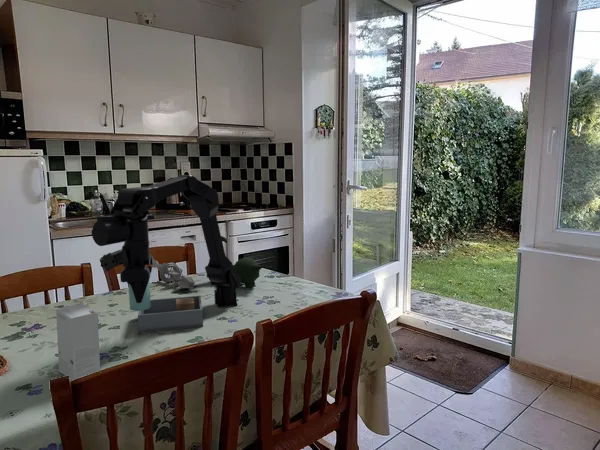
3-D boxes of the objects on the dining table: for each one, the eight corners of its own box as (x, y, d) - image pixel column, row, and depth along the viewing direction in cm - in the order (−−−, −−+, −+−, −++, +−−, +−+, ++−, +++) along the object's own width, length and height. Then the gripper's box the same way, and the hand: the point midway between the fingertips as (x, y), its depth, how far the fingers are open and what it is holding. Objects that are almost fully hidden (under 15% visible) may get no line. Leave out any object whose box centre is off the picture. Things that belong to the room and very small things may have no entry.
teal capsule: (151, 303, 113) (150, 277, 112) (150, 309, 108) (148, 282, 107) (131, 305, 111) (129, 278, 110) (128, 311, 107) (127, 284, 106)
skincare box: (58, 372, 96) (52, 308, 94) (86, 362, 101) (81, 301, 98) (74, 385, 91) (69, 317, 88) (103, 374, 95) (98, 309, 93)
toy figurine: (206, 287, 165) (255, 293, 150) (201, 237, 163) (250, 238, 148) (224, 281, 173) (272, 287, 158) (219, 234, 171) (268, 234, 156)
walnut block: (194, 313, 130) (193, 297, 130) (194, 319, 126) (194, 302, 125) (177, 315, 129) (176, 299, 128) (177, 321, 124) (176, 304, 123)
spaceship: (160, 253, 181) (143, 249, 175) (205, 278, 157) (188, 273, 151) (153, 271, 180) (136, 267, 175) (198, 298, 156) (180, 295, 151)
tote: (200, 310, 135) (200, 295, 134) (203, 326, 122) (202, 309, 122) (142, 316, 130) (141, 300, 130) (138, 333, 118) (137, 315, 117)
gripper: (107, 234, 114) (111, 291, 116) (94, 248, 96) (99, 315, 98) (151, 232, 117) (154, 288, 119) (146, 245, 99) (150, 310, 101)
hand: (140, 299), depth 109 cm, fingers closed on teal capsule, 5 cm apart
